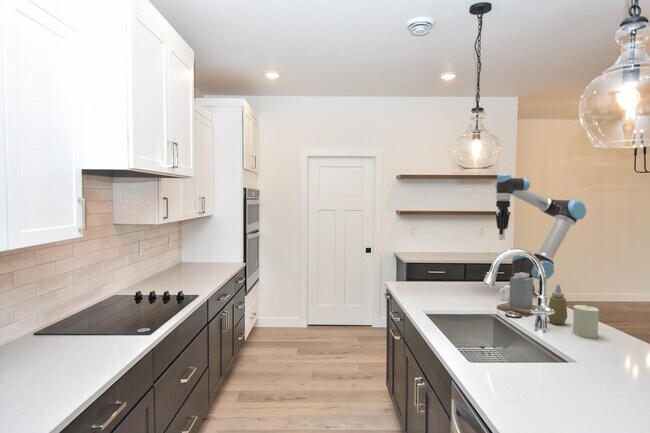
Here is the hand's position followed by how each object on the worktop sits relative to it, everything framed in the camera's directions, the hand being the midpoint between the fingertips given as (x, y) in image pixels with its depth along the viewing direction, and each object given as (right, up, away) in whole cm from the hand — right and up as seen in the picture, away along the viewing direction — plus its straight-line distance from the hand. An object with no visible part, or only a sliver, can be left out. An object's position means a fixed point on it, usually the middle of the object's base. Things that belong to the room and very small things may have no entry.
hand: (502, 239), depth 228 cm
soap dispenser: (-3, -33, -27) cm, 43 cm away
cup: (0, -35, -7) cm, 36 cm away
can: (+7, -37, -63) cm, 74 cm away
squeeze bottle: (+4, -37, -48) cm, 61 cm away
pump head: (-4, -26, -28) cm, 38 cm away
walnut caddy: (-3, -35, -27) cm, 45 cm away
